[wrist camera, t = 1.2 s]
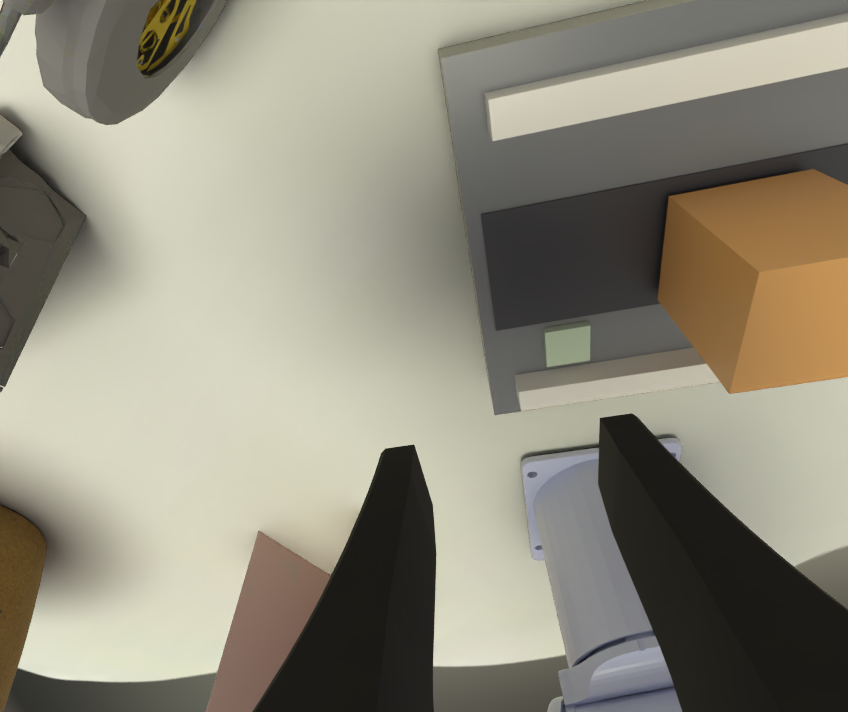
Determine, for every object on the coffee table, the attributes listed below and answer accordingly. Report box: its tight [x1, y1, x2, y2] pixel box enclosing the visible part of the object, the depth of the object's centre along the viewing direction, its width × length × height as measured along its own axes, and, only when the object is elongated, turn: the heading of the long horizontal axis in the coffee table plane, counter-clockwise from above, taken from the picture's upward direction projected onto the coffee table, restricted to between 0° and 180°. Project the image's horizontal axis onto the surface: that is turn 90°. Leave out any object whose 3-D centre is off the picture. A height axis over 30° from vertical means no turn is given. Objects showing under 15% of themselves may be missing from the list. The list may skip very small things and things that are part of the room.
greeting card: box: [206, 532, 331, 712], centre depth 26 cm, size 11×7×15 cm, turn 0°
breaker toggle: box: [657, 169, 848, 394], centre depth 13 cm, size 4×4×5 cm
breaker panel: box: [438, 0, 848, 415], centre depth 16 cm, size 13×16×3 cm
